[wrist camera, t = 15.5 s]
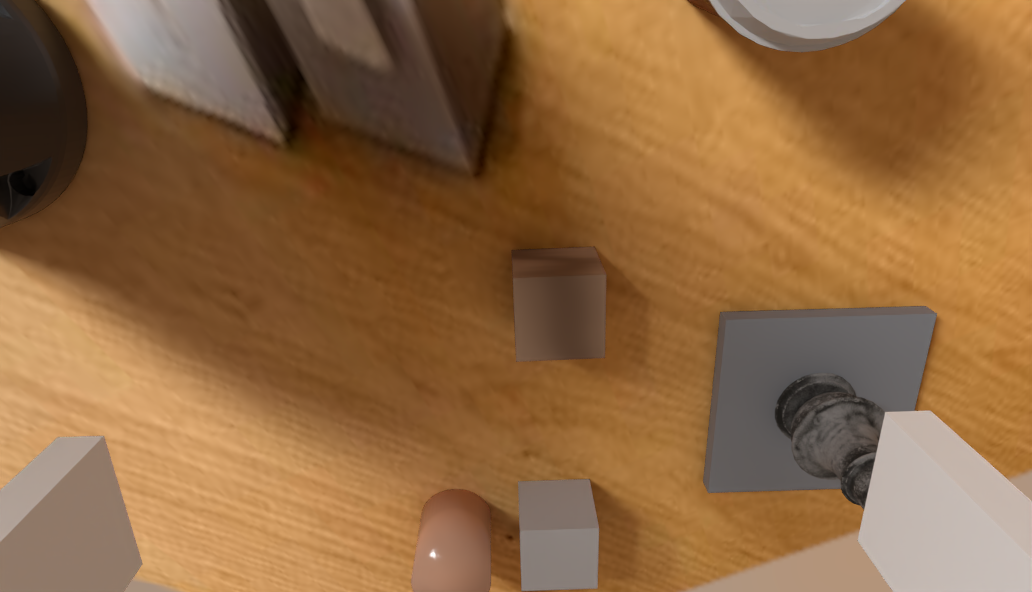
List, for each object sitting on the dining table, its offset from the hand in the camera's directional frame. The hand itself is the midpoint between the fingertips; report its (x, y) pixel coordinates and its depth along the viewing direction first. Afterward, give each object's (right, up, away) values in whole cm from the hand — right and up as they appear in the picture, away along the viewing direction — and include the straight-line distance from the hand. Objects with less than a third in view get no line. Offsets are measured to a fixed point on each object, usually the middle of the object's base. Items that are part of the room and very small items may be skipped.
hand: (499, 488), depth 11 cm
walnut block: (+3, +4, +30) cm, 30 cm away
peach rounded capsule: (-4, -13, +36) cm, 38 cm away
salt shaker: (+20, -4, +32) cm, 38 cm away
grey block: (+3, -12, +36) cm, 38 cm away
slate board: (+20, -4, +33) cm, 38 cm away
